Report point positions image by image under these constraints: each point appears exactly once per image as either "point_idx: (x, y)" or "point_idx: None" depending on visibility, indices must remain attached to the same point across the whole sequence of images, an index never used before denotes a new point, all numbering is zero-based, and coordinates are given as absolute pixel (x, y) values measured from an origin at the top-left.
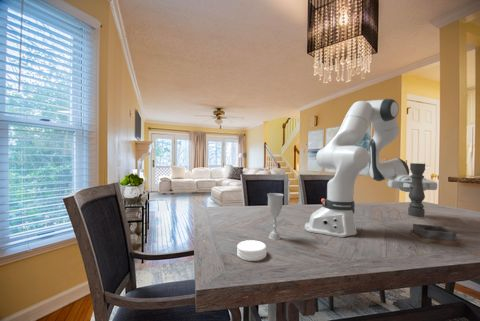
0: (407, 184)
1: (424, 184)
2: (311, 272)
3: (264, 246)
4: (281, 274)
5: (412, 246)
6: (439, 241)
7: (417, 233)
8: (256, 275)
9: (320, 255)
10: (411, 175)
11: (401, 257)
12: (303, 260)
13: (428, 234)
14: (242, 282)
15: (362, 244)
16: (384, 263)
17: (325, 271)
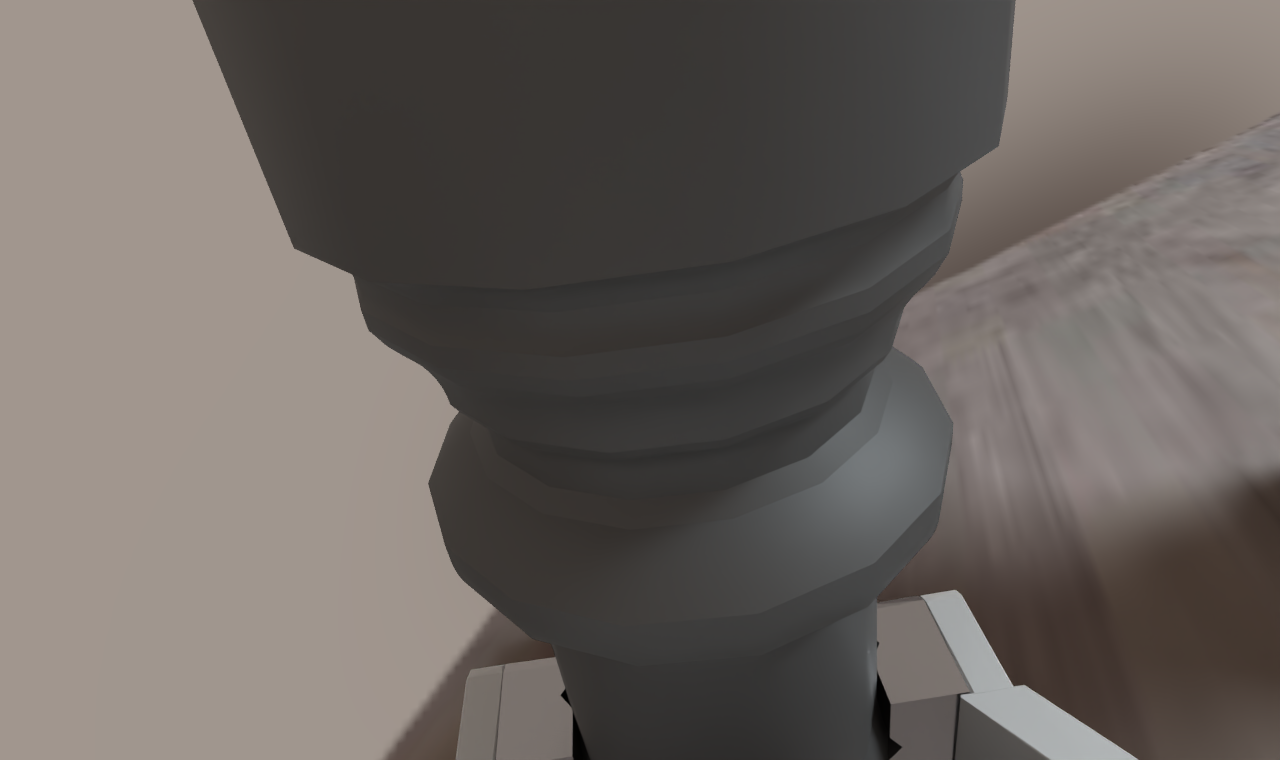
0: (1031, 720)
1: (483, 719)
2: (1167, 191)
3: None
4: (1226, 164)
5: None
6: None
7: None
8: (1274, 145)
9: (1236, 252)
10: (911, 366)
11: (934, 353)
12: (1252, 214)
13: None
14: (1266, 128)
15: (1158, 397)
16: (989, 294)
17: (1137, 205)
